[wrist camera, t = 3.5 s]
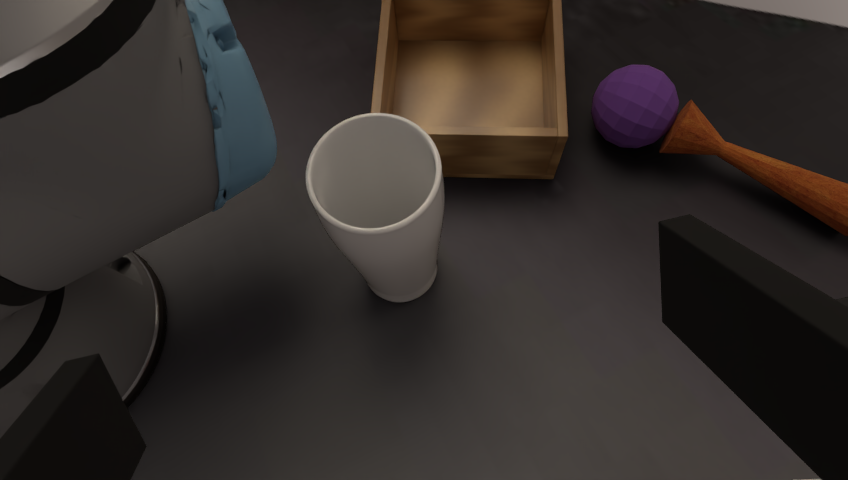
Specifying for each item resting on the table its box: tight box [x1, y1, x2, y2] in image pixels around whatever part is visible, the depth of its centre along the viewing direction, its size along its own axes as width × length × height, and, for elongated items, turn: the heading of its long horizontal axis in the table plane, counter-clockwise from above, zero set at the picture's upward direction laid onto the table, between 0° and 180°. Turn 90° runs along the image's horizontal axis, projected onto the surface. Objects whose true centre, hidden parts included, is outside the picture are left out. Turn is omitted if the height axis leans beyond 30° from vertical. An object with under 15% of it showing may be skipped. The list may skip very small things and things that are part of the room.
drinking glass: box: [306, 113, 445, 302], centre depth 34 cm, size 7×7×15 cm
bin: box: [371, 0, 568, 179], centre depth 43 cm, size 13×13×6 cm
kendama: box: [591, 65, 848, 236], centre depth 40 cm, size 6×6×20 cm
